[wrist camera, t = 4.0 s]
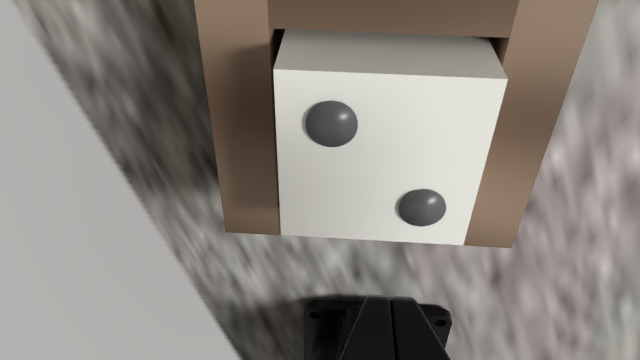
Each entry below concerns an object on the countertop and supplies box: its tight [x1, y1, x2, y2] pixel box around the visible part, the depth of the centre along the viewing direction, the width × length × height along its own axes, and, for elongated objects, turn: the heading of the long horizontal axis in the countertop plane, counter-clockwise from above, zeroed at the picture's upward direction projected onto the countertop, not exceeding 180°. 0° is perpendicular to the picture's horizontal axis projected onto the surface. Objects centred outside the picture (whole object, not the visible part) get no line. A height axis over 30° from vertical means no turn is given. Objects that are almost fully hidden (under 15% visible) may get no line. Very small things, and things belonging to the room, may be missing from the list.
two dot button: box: [273, 29, 508, 245], centre depth 13 cm, size 5×5×3 cm
